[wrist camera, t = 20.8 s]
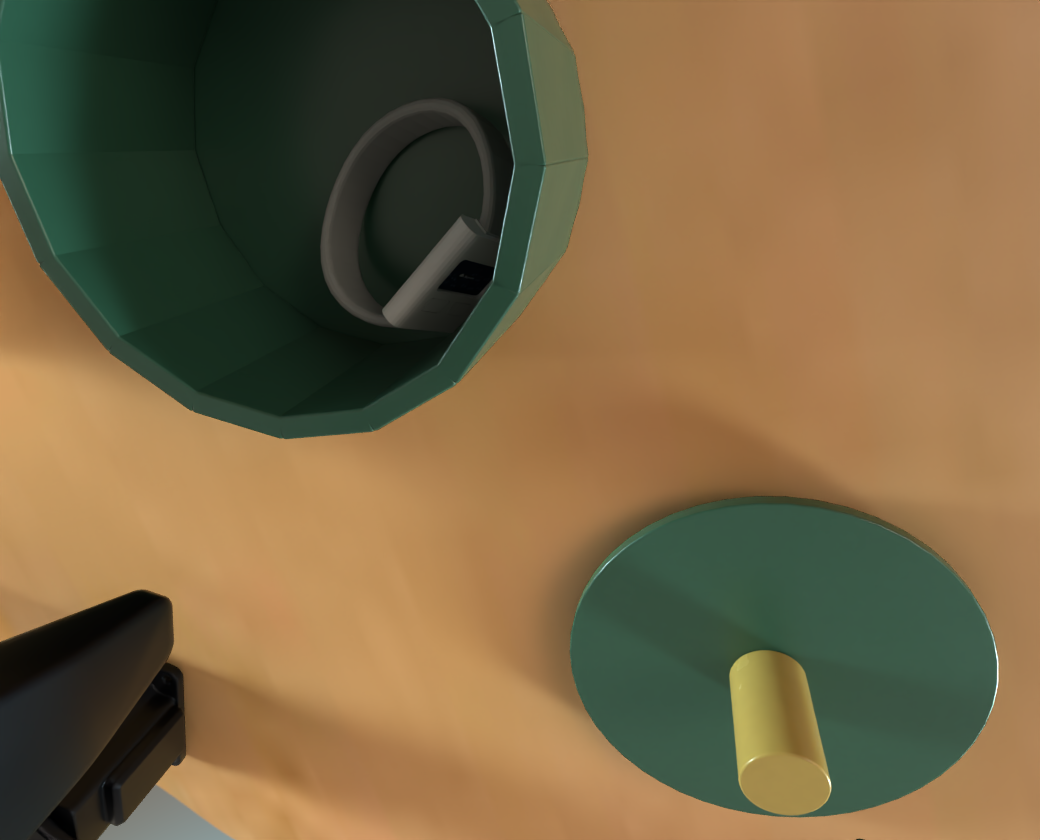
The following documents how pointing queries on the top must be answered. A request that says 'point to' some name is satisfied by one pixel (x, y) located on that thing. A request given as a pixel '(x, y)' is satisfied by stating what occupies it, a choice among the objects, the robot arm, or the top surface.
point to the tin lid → (783, 657)
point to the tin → (279, 186)
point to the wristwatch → (458, 255)
